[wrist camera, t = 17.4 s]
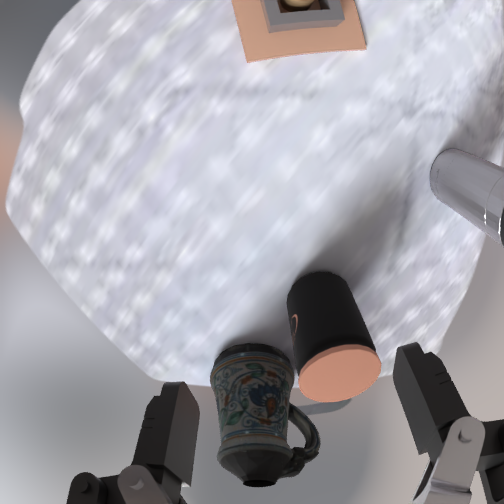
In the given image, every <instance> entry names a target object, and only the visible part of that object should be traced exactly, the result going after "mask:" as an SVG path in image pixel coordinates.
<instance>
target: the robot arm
mask: <svg viewBox="0 0 504 504" xmlns="http://www.w3.org/2000/svg"><path fill="white" fill-rule="evenodd" d="M430 184H431V188H432V191H433V193H434V195H435V196H436V197H437V199H439V200H440V201H441V202H443V203H444V204H446V205H447V206H449V207H450V208H452V209H453V210H454V211H456V212H457V213H459V214H460V215H461V216H463V217H464V218H466V219H467V220H468V221H470V222H471V223H473V224H474V225H475V226H477V227H478V228H479V229H481V230H482V231H483V232H485V233H486V234H487V235H489V236H490V237H491V238H492V239H494V240H495V241H496V242H497V243H499V244H500V245H501V246H503V247H504V168H503V167H501V166H498V165H496V164H494V163H491V162H489V161H486V160H484V159H481V158H479V157H476V156H474V155H471V154H469V153H466V152H463V151H461V150H457V149H448V150H445V151H444V152H442V153H441V154H440V155H439V156H438V157H437V158H436V160H435V161H434V163H433V166H432V169H431V173H430ZM393 380H394V385H395V388H396V390H397V393H398V396H399V398H400V401H401V404H402V406H403V409H404V412H405V415H406V417H407V420H408V423H409V426H410V429H411V432H412V435H413V438H414V441H415V444H416V447H417V450H418V453H419V455H420V454H423V453H426V452H428V454H429V457H430V459H429V462H428V464H427V466H426V469H425V471H424V473H423V476H422V478H421V480H420V483H419V485H418V487H417V489H416V491H415V493H414V495H413V497H412V499H411V501H410V503H409V504H469V503H470V500H471V495H472V493H471V491H470V486H471V483H472V480H473V476H474V474H475V471H479V473H480V477H481V481H482V484H483V487H484V492H485V496H486V500H487V504H504V419H503V420H496V421H489V422H482V421H479V420H478V419H477V418H474V417H472V416H471V415H470V414H469V413H468V411H467V409H466V407H465V405H464V403H463V401H462V399H461V397H460V395H459V393H458V391H457V389H456V387H455V385H454V383H453V381H451V377H450V375H449V373H447V370H446V368H445V366H444V364H443V362H442V361H441V359H440V358H438V357H437V356H436V355H435V354H433V353H432V352H429V353H426V354H424V352H423V350H422V349H421V347H420V345H419V344H418V343H417V342H414V343H411V344H407V345H404V346H400V347H398V348H397V352H396V358H395V364H394V370H393ZM199 416H200V411H199V406H198V403H197V401H196V400H195V398H194V396H193V395H192V393H191V391H190V390H189V388H188V386H187V385H186V383H185V382H166V383H164V385H163V387H162V391H161V395H160V396H154V397H153V399H152V400H151V401H150V403H149V404H148V405H147V408H146V411H145V415H144V420H143V423H142V429H141V430H140V434H139V438H138V442H137V446H136V450H135V454H134V458H133V461H132V464H131V465H130V466H128V467H126V468H125V469H124V470H122V471H121V473H120V474H119V475H115V476H109V477H101V478H97V477H95V476H94V475H93V474H91V473H88V472H83V473H80V474H78V475H77V476H75V477H74V479H73V480H72V482H71V486H70V491H69V495H68V499H67V504H187V503H186V502H185V500H184V499H183V497H182V496H181V495H180V491H181V486H183V487H191V479H192V471H193V464H194V455H195V447H196V440H197V431H198V425H199Z"/></svg>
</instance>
